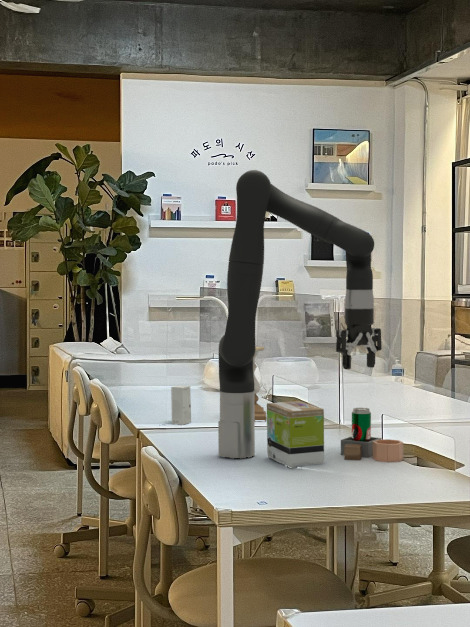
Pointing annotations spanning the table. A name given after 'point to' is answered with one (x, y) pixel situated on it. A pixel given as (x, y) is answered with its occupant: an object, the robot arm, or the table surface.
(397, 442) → the bowl
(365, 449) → the bin
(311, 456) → the tea box
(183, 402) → the skincare box
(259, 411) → the candle holder
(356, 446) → the walnut block
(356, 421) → the soda can
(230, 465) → the table surface
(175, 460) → the table surface
